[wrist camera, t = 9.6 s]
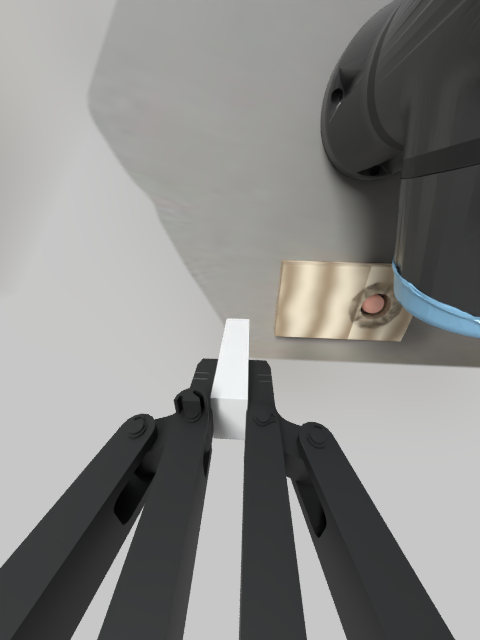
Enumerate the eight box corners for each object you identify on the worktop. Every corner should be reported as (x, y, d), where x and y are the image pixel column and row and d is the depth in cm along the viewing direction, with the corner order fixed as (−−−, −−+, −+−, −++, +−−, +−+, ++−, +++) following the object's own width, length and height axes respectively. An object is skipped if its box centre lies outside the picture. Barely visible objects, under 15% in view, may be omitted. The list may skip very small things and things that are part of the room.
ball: (374, 289, 38) (376, 289, 35) (387, 305, 37) (390, 306, 34) (356, 300, 40) (356, 301, 37) (368, 315, 39) (369, 318, 36)
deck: (273, 329, 43) (274, 336, 40) (281, 260, 36) (283, 264, 34) (392, 334, 42) (400, 341, 40) (424, 264, 35) (436, 268, 33)
